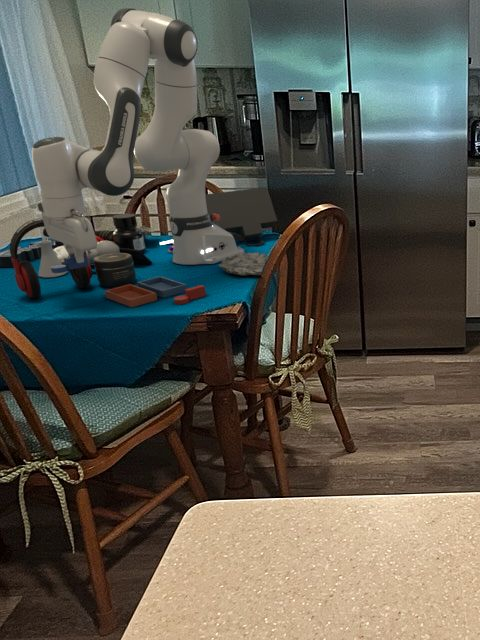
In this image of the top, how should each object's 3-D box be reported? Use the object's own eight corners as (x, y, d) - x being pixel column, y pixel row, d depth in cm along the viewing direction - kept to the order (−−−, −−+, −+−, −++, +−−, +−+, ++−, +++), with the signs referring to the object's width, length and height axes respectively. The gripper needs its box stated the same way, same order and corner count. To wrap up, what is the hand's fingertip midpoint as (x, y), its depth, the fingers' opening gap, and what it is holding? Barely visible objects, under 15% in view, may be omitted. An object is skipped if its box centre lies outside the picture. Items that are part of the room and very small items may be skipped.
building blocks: (185, 242, 222) (185, 247, 223) (164, 245, 216) (164, 250, 217) (197, 246, 219) (197, 251, 220) (176, 249, 213) (176, 254, 214)
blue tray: (138, 289, 181) (136, 282, 180) (161, 282, 186) (160, 276, 185) (163, 298, 174) (162, 291, 173) (187, 291, 179) (186, 284, 178)
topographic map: (141, 225, 235) (141, 220, 235) (176, 236, 227) (176, 230, 227) (91, 224, 219) (91, 218, 219) (126, 235, 211) (126, 229, 210)
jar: (93, 283, 186) (87, 256, 183) (129, 275, 192) (124, 250, 189) (106, 290, 179) (100, 264, 176) (143, 283, 186) (137, 257, 183)
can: (68, 241, 229) (59, 207, 224) (49, 245, 224) (40, 210, 219) (58, 238, 232) (49, 205, 227) (39, 242, 227) (30, 208, 222)
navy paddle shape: (84, 263, 170) (81, 253, 169) (90, 266, 168) (88, 256, 167) (49, 271, 164) (46, 260, 163) (55, 274, 162) (52, 263, 161)
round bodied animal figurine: (76, 271, 195) (69, 244, 192) (117, 263, 203) (111, 236, 200) (86, 276, 191) (79, 248, 187) (127, 268, 199) (121, 240, 195)
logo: (47, 237, 220) (72, 239, 218) (49, 247, 221) (74, 249, 219) (-13, 255, 199) (15, 258, 197) (-10, 265, 200) (18, 268, 199)
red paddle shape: (200, 294, 177) (198, 284, 176) (208, 296, 175) (206, 286, 174) (171, 302, 171) (169, 292, 170) (179, 305, 169) (177, 295, 168)
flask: (55, 279, 189) (46, 245, 185) (33, 277, 191) (24, 243, 186) (72, 271, 196) (64, 239, 192) (52, 270, 197) (43, 237, 193)
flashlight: (46, 236, 218) (128, 241, 225) (42, 240, 213) (126, 245, 220) (45, 223, 216) (128, 229, 223) (40, 228, 211) (125, 233, 219)
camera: (186, 212, 230) (199, 255, 230) (194, 195, 216) (208, 241, 216) (255, 203, 243) (267, 243, 243) (266, 186, 229) (280, 229, 229)
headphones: (87, 281, 187) (70, 211, 179) (99, 289, 181) (82, 217, 172) (18, 295, 176) (-4, 221, 168) (28, 304, 170) (6, 228, 161)
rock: (259, 255, 207) (214, 271, 199) (256, 243, 204) (210, 258, 197) (284, 273, 195) (237, 290, 188) (281, 260, 193) (233, 277, 186)
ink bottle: (144, 254, 213) (137, 217, 208) (115, 257, 210) (107, 220, 205) (146, 247, 221) (139, 211, 216) (118, 249, 218) (110, 213, 213)
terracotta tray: (106, 297, 174) (104, 290, 174) (131, 290, 180) (130, 283, 179) (131, 307, 168) (130, 300, 167) (157, 299, 173) (156, 292, 172)
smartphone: (115, 258, 208) (153, 263, 203) (114, 260, 207) (152, 264, 203) (99, 245, 201) (139, 249, 197) (98, 247, 201) (138, 251, 197)
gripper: (97, 211, 158) (109, 266, 164) (59, 199, 169) (72, 251, 175) (70, 215, 153) (83, 272, 159) (33, 203, 165) (47, 256, 171)
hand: (77, 261), depth 167 cm, fingers closed on navy paddle shape
